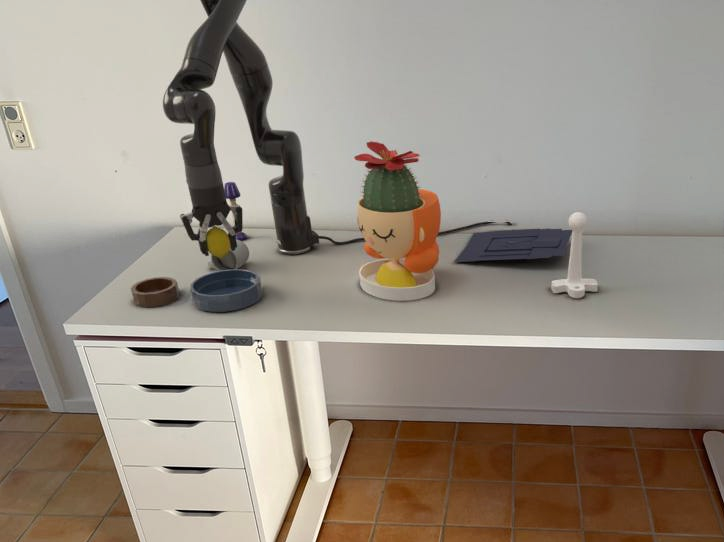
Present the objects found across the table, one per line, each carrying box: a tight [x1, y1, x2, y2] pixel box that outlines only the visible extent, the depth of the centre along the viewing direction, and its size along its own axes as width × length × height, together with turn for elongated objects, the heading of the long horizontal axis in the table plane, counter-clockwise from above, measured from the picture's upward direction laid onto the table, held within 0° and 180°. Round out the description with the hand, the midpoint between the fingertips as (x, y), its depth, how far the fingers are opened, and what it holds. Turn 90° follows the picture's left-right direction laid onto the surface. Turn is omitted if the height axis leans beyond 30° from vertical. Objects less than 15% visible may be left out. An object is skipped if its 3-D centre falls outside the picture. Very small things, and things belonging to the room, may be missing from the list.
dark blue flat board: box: [453, 228, 572, 263], centre depth 200 cm, size 24×30×4 cm
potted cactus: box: [354, 140, 442, 302], centre depth 174 cm, size 22×22×35 cm
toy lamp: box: [223, 181, 248, 241], centre depth 209 cm, size 5×5×17 cm
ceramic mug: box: [207, 239, 250, 271], centre depth 191 cm, size 11×8×8 cm
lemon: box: [205, 225, 230, 259], centre depth 168 cm, size 6×6×8 cm
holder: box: [130, 276, 181, 308], centre depth 175 cm, size 10×10×4 cm
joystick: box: [550, 211, 599, 299], centre depth 171 cm, size 11×8×20 cm
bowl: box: [189, 268, 264, 313], centre depth 174 cm, size 16×16×4 cm
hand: (219, 252), depth 169 cm, fingers closed on lemon, 5 cm apart
